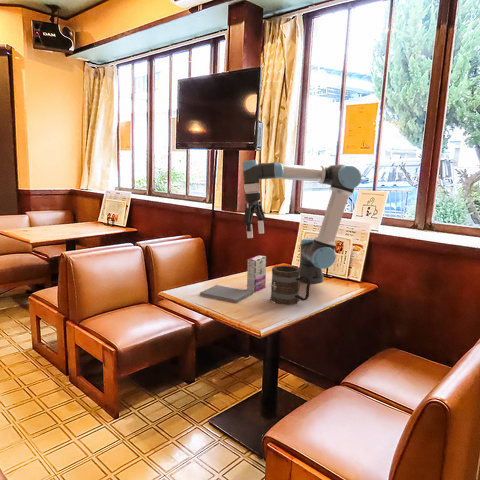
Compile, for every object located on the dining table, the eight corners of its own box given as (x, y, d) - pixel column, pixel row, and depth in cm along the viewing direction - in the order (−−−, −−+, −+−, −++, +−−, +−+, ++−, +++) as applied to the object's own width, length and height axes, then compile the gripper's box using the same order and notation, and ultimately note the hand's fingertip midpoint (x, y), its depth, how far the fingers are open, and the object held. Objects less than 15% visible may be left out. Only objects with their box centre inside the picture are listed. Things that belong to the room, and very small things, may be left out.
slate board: (251, 294, 196) (251, 291, 196) (236, 302, 183) (236, 299, 183) (216, 287, 205) (216, 285, 205) (199, 295, 192) (199, 292, 192)
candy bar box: (257, 285, 211) (258, 255, 208) (265, 287, 208) (266, 256, 205) (246, 291, 202) (247, 258, 199) (254, 292, 199) (255, 260, 196)
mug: (264, 300, 188) (265, 268, 186) (281, 294, 198) (282, 264, 196) (300, 310, 176) (302, 277, 173) (316, 303, 186) (318, 271, 183)
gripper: (255, 191, 210) (259, 231, 213) (233, 195, 188) (238, 240, 191) (269, 190, 206) (272, 231, 210) (248, 193, 184) (252, 239, 188)
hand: (256, 235), depth 200 cm, fingers open, 13 cm apart
